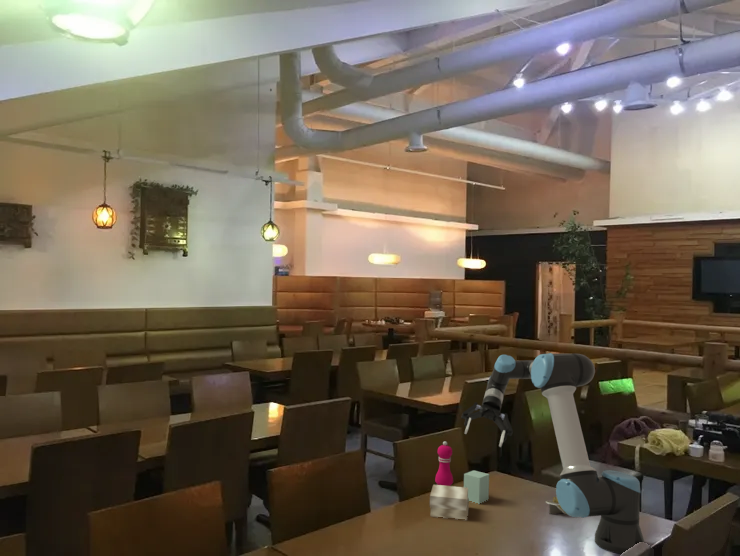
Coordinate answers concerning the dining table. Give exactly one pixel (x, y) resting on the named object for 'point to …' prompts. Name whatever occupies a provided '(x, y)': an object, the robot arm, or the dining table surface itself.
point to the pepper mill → (444, 466)
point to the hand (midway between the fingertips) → (483, 438)
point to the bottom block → (450, 512)
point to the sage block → (477, 486)
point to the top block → (449, 497)
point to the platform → (555, 506)
